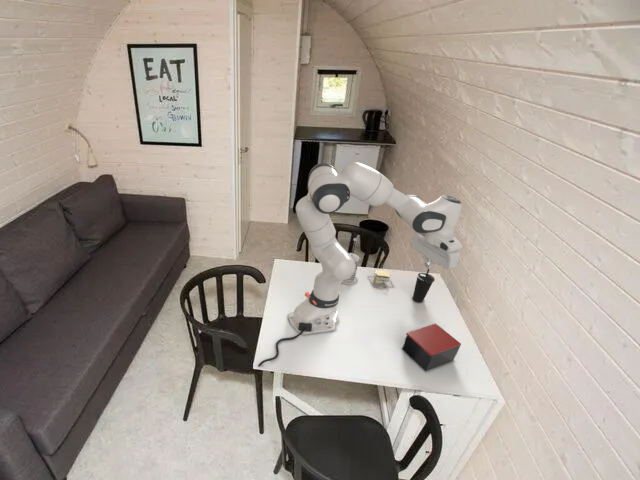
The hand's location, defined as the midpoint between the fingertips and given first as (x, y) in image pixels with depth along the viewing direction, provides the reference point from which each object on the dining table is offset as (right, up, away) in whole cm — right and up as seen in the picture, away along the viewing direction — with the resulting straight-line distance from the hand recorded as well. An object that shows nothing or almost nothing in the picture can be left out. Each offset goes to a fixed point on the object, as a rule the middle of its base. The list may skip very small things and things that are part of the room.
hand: (427, 267), depth 144 cm
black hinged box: (+1, -36, +2) cm, 36 cm away
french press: (-20, -7, +47) cm, 51 cm away
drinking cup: (+12, -16, +32) cm, 38 cm away
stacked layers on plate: (-1, -8, +45) cm, 45 cm away
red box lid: (0, -29, -3) cm, 29 cm away
